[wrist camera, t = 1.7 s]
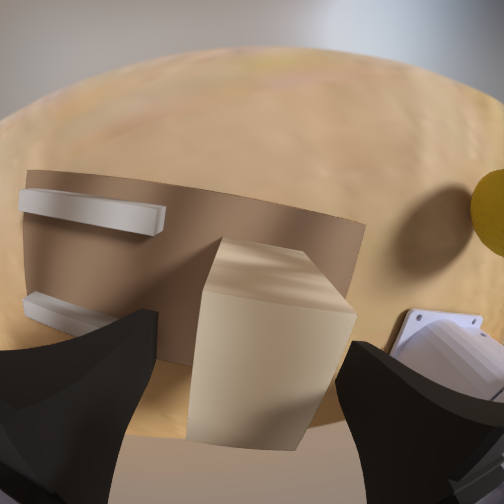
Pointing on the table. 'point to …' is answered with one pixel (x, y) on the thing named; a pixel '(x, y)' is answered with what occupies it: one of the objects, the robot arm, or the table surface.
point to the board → (153, 250)
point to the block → (264, 347)
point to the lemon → (489, 211)
